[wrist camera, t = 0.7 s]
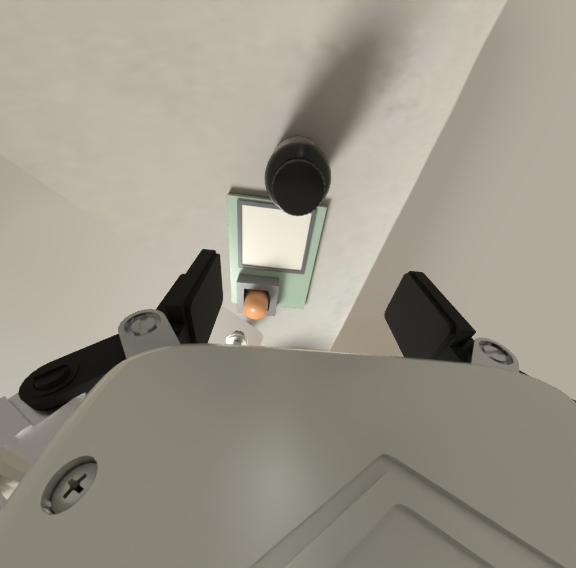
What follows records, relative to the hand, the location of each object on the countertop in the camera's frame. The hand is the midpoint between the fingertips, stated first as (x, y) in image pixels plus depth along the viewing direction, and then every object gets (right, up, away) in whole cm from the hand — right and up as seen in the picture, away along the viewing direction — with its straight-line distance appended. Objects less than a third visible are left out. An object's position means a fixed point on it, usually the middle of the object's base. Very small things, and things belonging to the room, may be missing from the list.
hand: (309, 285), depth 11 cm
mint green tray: (-4, +4, +26) cm, 27 cm away
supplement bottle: (0, +16, +18) cm, 24 cm away
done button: (-7, -2, +28) cm, 29 cm away
